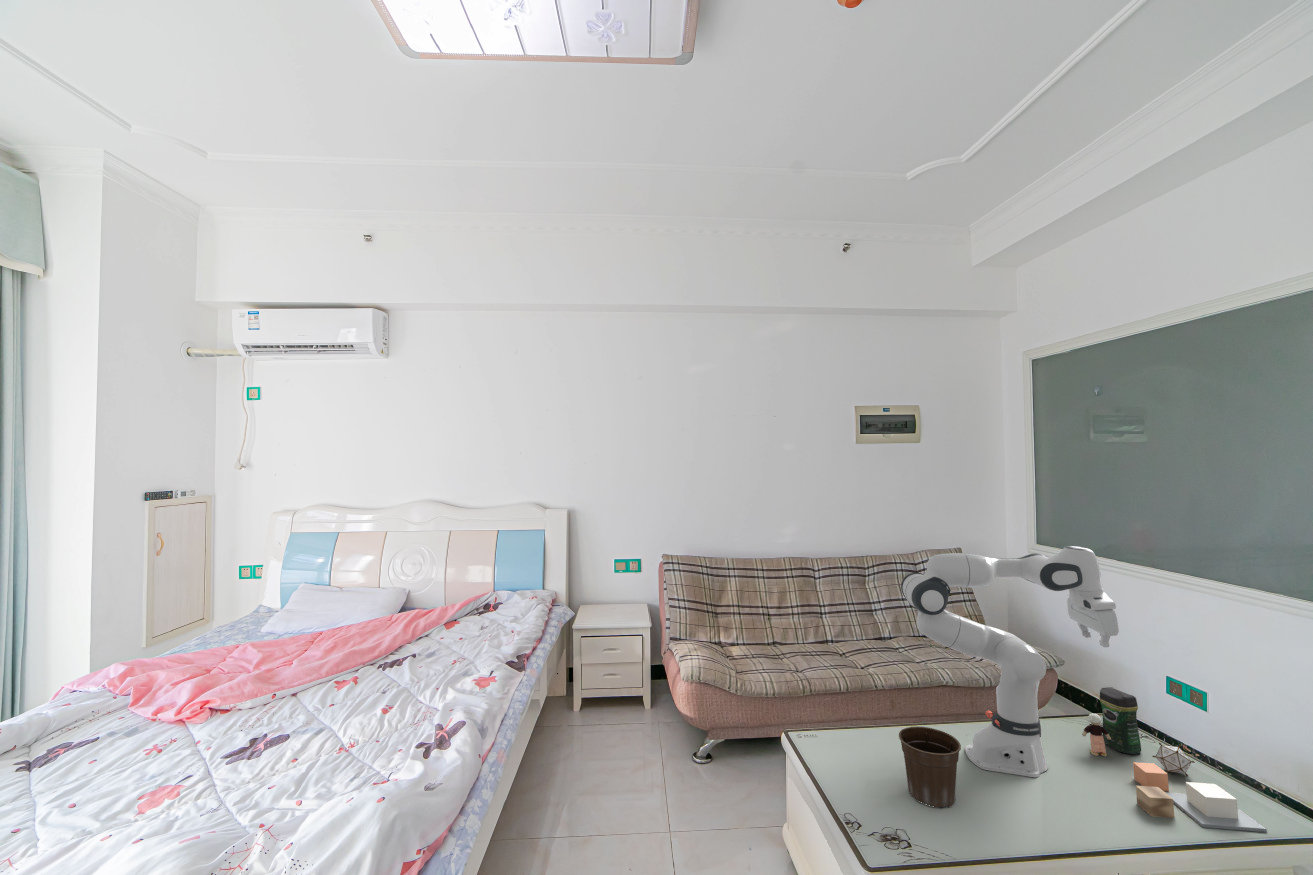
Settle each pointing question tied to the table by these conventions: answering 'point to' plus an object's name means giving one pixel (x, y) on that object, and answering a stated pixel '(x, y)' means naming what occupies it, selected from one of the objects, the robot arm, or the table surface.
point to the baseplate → (1213, 820)
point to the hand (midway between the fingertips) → (1095, 641)
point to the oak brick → (1155, 801)
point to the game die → (1173, 759)
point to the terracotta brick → (1150, 775)
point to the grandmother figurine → (1096, 735)
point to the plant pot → (930, 764)
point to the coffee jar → (1120, 720)
